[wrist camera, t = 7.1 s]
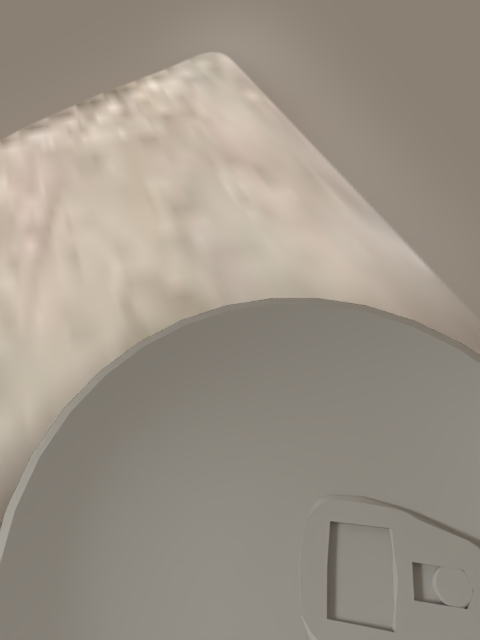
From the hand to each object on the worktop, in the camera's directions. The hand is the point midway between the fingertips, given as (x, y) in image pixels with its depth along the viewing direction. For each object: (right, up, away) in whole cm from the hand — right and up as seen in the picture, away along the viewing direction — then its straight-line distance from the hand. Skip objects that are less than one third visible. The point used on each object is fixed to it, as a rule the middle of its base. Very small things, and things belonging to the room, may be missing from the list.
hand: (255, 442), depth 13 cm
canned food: (+1, -5, +2) cm, 5 cm away
